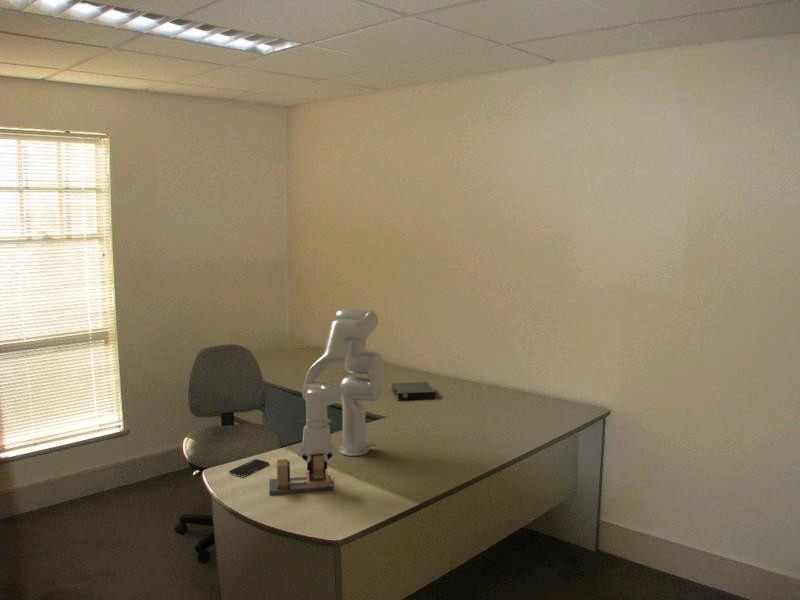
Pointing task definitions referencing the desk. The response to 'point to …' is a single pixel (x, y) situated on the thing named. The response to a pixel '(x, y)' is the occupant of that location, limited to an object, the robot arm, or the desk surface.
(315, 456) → the small cardboard box
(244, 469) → the phone
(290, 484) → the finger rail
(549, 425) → the desk surface
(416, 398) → the network switch
